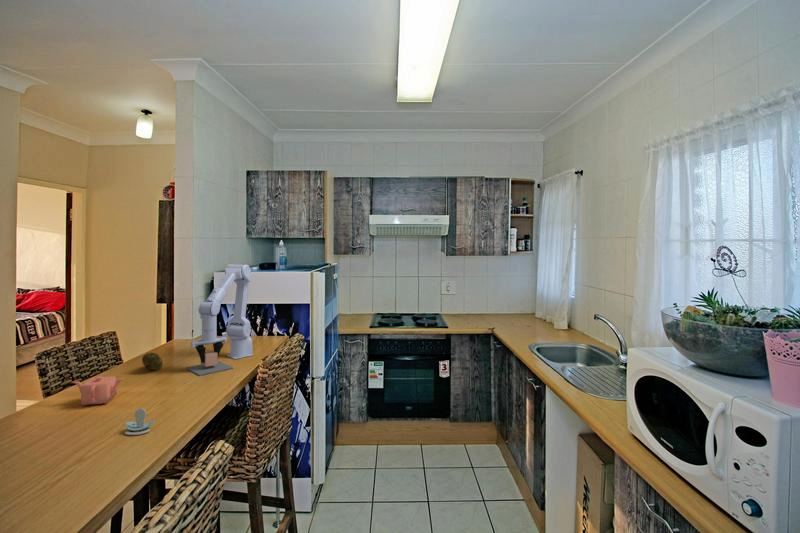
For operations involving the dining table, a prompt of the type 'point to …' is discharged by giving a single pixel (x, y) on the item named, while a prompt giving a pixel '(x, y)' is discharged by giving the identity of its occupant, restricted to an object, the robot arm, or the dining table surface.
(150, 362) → the potato
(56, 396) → the dining table surface
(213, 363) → the cube
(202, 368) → the mat
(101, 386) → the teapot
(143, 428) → the pacifier
